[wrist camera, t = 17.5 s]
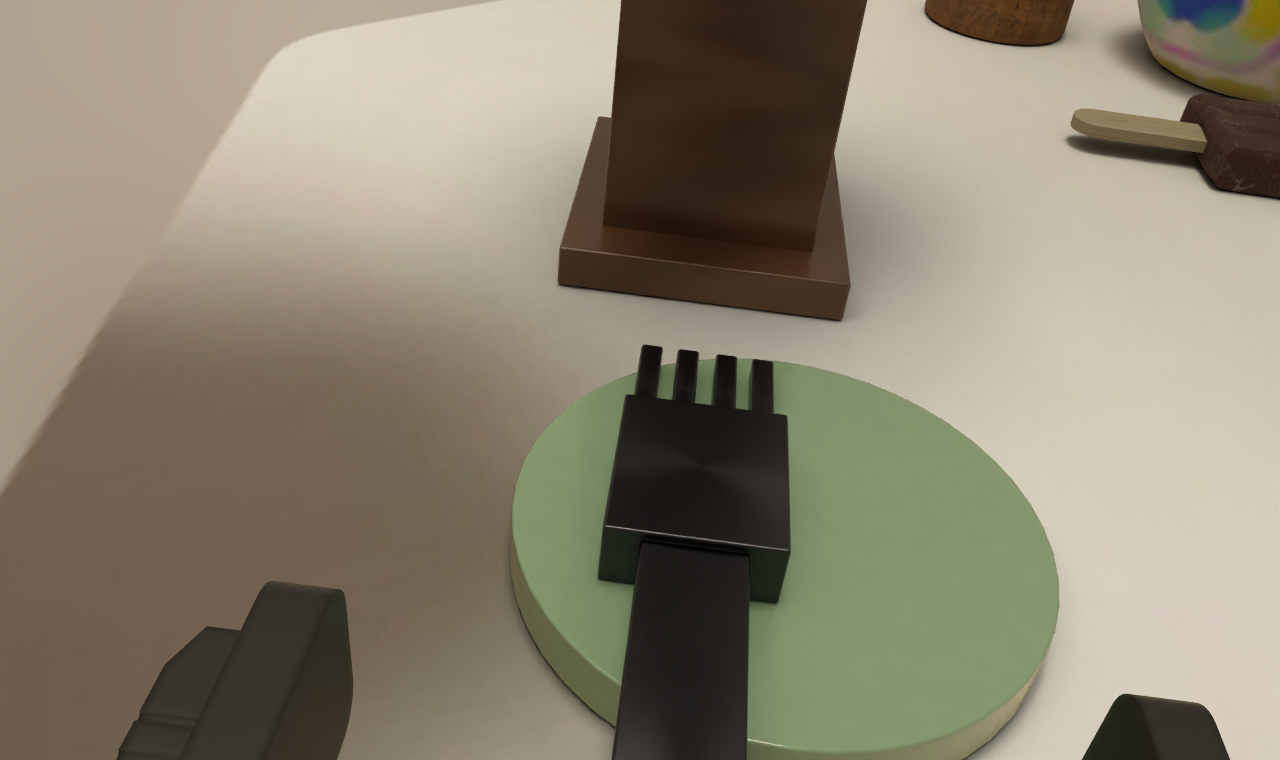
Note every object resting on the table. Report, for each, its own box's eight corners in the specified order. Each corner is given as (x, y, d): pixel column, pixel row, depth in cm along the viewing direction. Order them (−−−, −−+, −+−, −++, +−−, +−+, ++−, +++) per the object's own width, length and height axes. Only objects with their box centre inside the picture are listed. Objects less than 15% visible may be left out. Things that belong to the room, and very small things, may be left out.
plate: (456, 748, 19) (456, 704, 18) (553, 371, 28) (555, 331, 27) (1100, 835, 19) (1126, 794, 18) (991, 427, 28) (1006, 389, 27)
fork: (469, 1339, 12) (470, 1299, 11) (633, 362, 26) (639, 313, 25) (786, 1385, 12) (811, 1351, 11) (776, 381, 26) (786, 333, 25)
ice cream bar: (1078, 169, 41) (1499, 231, 40) (1093, 127, 40) (1525, 189, 39) (1054, 113, 45) (1434, 167, 44) (1067, 73, 44) (1457, 129, 43)
